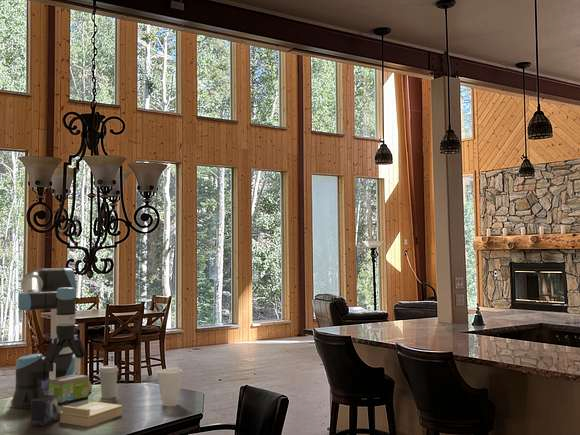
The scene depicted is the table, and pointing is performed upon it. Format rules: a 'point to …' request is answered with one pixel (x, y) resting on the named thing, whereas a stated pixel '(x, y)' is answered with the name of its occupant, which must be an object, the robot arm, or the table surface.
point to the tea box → (70, 390)
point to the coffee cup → (108, 381)
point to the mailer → (90, 418)
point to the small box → (44, 410)
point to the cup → (169, 385)
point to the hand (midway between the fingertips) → (65, 376)
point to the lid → (89, 409)
